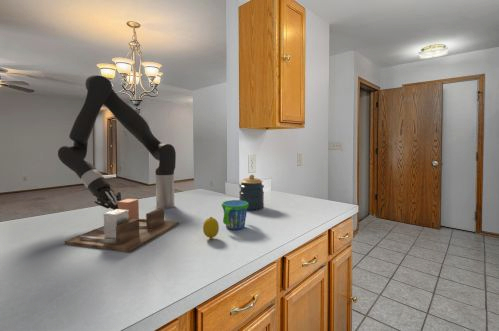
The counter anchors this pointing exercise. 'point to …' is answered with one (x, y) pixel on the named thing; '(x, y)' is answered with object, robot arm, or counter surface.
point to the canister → (252, 193)
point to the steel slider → (114, 221)
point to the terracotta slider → (130, 207)
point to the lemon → (210, 227)
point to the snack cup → (235, 214)
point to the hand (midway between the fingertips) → (121, 213)
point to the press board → (127, 233)
